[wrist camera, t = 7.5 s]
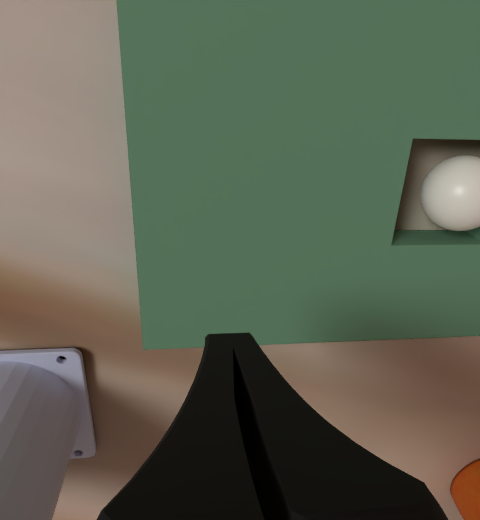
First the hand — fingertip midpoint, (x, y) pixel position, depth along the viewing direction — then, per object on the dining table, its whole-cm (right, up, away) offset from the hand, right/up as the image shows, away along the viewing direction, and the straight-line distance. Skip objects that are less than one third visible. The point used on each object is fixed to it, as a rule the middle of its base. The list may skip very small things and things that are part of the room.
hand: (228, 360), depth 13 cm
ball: (+11, +6, +7) cm, 14 cm away
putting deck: (+5, +7, +8) cm, 12 cm away
